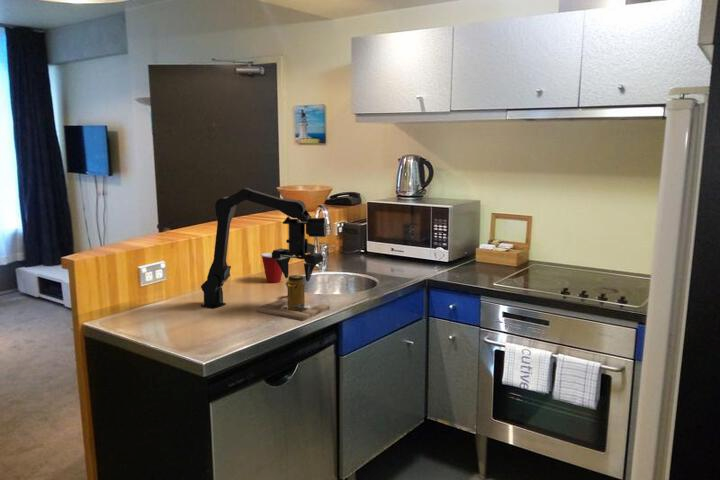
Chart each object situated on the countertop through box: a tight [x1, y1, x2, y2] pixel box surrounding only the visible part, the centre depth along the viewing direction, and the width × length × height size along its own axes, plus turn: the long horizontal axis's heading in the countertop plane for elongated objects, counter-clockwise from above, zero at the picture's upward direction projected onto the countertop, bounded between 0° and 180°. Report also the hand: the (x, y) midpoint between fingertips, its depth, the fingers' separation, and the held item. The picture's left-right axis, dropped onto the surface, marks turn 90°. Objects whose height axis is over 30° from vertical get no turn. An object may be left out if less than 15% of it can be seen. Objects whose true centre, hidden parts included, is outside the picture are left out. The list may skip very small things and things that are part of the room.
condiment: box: [286, 274, 311, 312], centre depth 207 cm, size 7×8×12 cm
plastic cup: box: [260, 252, 283, 284], centre depth 246 cm, size 11×11×12 cm
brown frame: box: [256, 297, 330, 321], centre depth 207 cm, size 16×20×1 cm
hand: (297, 279), depth 207 cm, fingers open, 9 cm apart
